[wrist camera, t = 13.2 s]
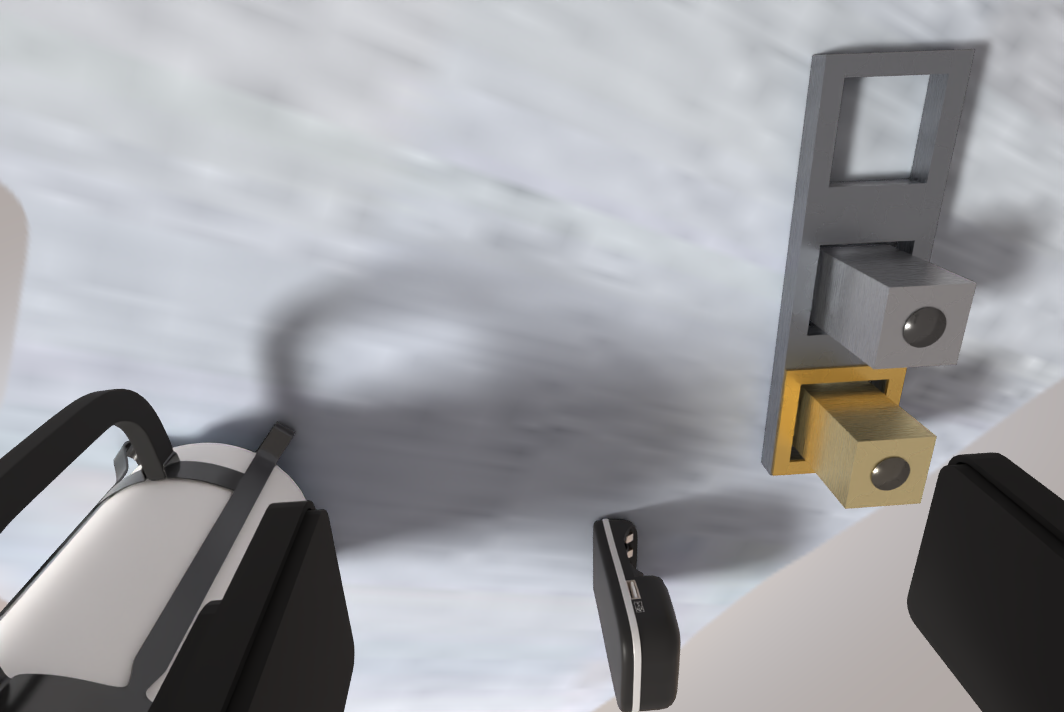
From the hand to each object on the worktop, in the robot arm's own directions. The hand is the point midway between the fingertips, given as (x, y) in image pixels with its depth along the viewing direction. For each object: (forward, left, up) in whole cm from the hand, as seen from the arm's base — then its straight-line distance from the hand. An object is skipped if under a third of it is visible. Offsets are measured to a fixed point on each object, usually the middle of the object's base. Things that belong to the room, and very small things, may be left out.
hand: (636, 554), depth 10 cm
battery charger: (+26, +6, -30) cm, 40 cm away
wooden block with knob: (+15, +20, -30) cm, 39 cm away
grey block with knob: (+6, +20, -30) cm, 37 cm away
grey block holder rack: (+6, +20, -30) cm, 37 cm away
